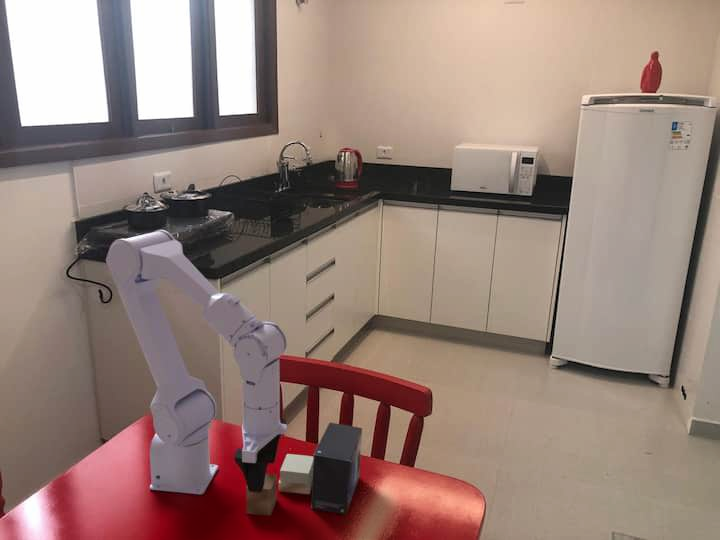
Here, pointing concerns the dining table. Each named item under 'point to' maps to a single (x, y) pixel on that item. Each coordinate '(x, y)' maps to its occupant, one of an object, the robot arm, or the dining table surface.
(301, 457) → the tower top
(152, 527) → the dining table surface
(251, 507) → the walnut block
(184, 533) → the dining table surface
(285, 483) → the tower base
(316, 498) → the small box
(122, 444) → the dining table surface
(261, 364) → the robot arm
